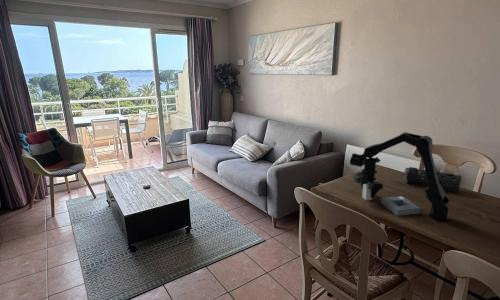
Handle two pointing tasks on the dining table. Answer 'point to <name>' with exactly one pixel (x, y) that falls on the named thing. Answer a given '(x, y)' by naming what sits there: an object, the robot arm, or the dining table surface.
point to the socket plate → (405, 209)
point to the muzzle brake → (444, 179)
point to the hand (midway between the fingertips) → (367, 194)
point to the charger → (366, 192)
